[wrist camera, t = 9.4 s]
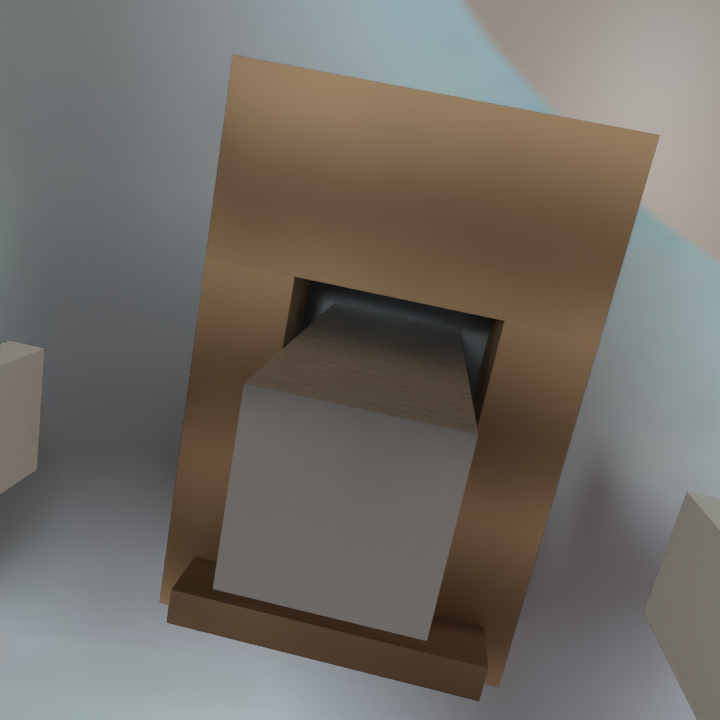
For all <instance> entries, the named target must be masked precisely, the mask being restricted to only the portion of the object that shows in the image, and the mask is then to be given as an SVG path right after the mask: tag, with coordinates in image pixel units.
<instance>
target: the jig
mask: <svg viewBox="0 0 720 720" xmlns="http://www.w3.org/2000/svg"><path fill="white" fill-rule="evenodd" d="M659 136H660V135H656V134H651V133H646V132H640V131H635V130H629V129H624V128H619V127H614V126H608V125H603V124H598V123H592V122H587V121H582V120H576V119H571V118H566V117H561V116H555V115H550V114H545V113H539V112H534V111H529V110H523V109H518V108H513V107H507V106H502V105H497V104H491V103H486V102H481V101H475V100H470V99H465V98H459V97H454V96H449V95H444V94H438V93H433V92H428V91H422V90H417V89H412V88H406V87H401V86H396V85H390V84H385V83H380V82H374V81H369V80H364V79H358V78H353V77H348V76H342V75H337V74H332V73H326V72H321V71H316V70H311V69H305V68H300V67H295V66H289V65H284V64H279V63H273V62H268V61H263V60H257V59H252V58H247V57H241V56H236V55H233V58H232V65H231V73H230V80H229V87H228V95H227V102H226V110H225V117H224V125H223V132H222V140H221V147H220V155H219V162H218V169H217V177H216V184H215V192H214V199H213V207H212V214H211V222H210V229H209V237H208V244H207V251H206V259H205V266H204V274H203V281H202V289H201V296H200V304H199V311H198V319H197V326H196V333H195V341H194V348H193V356H192V363H191V371H190V378H189V386H188V393H187V401H186V408H185V415H184V423H183V430H182V438H181V445H180V453H179V460H178V468H177V475H176V483H175V490H174V497H173V505H172V512H171V520H170V527H169V535H168V542H167V550H166V557H165V565H164V572H163V579H162V587H161V594H160V603H164V604H168V605H169V609H168V616H167V623H170V624H174V625H178V626H182V627H186V628H190V629H194V630H198V631H202V632H206V633H210V634H214V635H218V636H222V637H226V638H230V639H234V640H238V641H242V642H246V643H250V644H254V645H258V646H262V647H266V648H270V649H274V650H278V651H282V652H286V653H290V654H294V655H298V656H302V657H306V658H309V659H313V660H317V661H321V662H325V663H329V664H333V665H337V666H341V667H345V668H349V669H353V670H357V671H361V672H365V673H369V674H373V675H377V676H381V677H385V678H389V679H393V680H397V681H401V682H405V683H409V684H413V685H417V686H421V687H425V688H429V689H433V690H437V691H441V692H445V693H449V694H453V695H456V696H460V697H464V698H468V699H472V700H476V701H479V699H480V696H481V692H482V689H483V685H484V684H488V685H492V686H496V687H498V686H499V683H500V679H501V676H502V673H503V669H504V666H505V662H506V659H507V656H508V652H509V649H510V645H511V642H512V638H513V635H514V632H515V628H516V625H517V621H518V618H519V615H520V611H521V608H522V604H523V601H524V597H525V594H526V591H527V587H528V584H529V580H530V577H531V574H532V570H533V567H534V563H535V560H536V556H537V553H538V550H539V546H540V543H541V539H542V536H543V533H544V529H545V526H546V522H547V519H548V515H549V512H550V509H551V505H552V502H553V498H554V495H555V492H556V488H557V485H558V481H559V478H560V474H561V471H562V468H563V464H564V461H565V457H566V454H567V451H568V447H569V444H570V440H571V437H572V433H573V430H574V427H575V423H576V420H577V416H578V413H579V410H580V406H581V403H582V399H583V396H584V392H585V389H586V386H587V382H588V379H589V375H590V372H591V369H592V365H593V362H594V358H595V355H596V351H597V348H598V345H599V341H600V338H601V334H602V331H603V328H604V324H605V321H606V317H607V314H608V310H609V307H610V304H611V300H612V297H613V293H614V290H615V287H616V283H617V280H618V276H619V273H620V269H621V266H622V263H623V259H624V256H625V252H626V249H627V246H628V242H629V239H630V235H631V232H632V228H633V225H634V222H635V218H636V215H637V211H638V208H639V205H640V201H641V198H642V194H643V191H644V187H645V184H646V181H647V177H648V173H649V170H650V167H651V164H652V160H653V157H654V153H655V149H656V146H657V143H658V140H659ZM311 280H313V281H318V282H323V283H327V284H332V285H337V286H342V287H346V288H351V289H356V290H361V291H365V292H370V293H375V294H380V295H384V296H389V297H394V298H399V299H403V300H408V301H413V302H418V303H422V304H427V305H432V306H437V307H441V308H446V309H451V310H456V311H460V312H465V313H470V314H475V315H479V316H484V317H489V318H493V320H492V324H491V328H490V332H489V336H488V340H487V344H486V348H485V352H484V356H483V360H482V364H481V368H480V372H479V376H478V380H477V384H476V388H475V392H474V396H473V400H472V402H473V407H474V413H475V418H476V424H477V429H478V439H477V443H476V447H475V451H474V455H473V459H472V463H471V467H470V471H469V475H468V479H467V483H466V487H465V491H464V495H463V499H462V503H461V507H460V511H459V515H458V519H457V523H456V527H455V531H454V535H453V539H452V543H451V547H450V551H449V555H448V559H447V563H446V567H445V571H444V575H443V579H442V583H441V587H440V591H439V595H438V599H437V603H436V607H435V611H434V615H433V619H432V623H431V627H430V631H429V635H428V639H427V641H425V640H421V639H417V638H412V637H408V636H404V635H400V634H396V633H392V632H388V631H384V630H380V629H375V628H371V627H367V626H363V625H359V624H355V623H351V622H347V621H343V620H338V619H334V618H330V617H326V616H322V615H318V614H314V613H310V612H305V611H301V610H297V609H293V608H289V607H285V606H281V605H277V604H273V603H268V602H264V601H260V600H256V599H252V598H248V597H244V596H240V595H236V594H231V593H227V592H223V591H219V590H215V589H213V584H214V577H215V571H216V564H217V558H218V551H219V544H220V538H221V531H222V525H223V518H224V511H225V505H226V498H227V492H228V485H229V478H230V472H231V465H232V459H233V452H234V446H235V439H236V432H237V426H238V419H239V413H240V406H241V399H242V393H243V386H244V383H245V382H246V381H247V380H248V379H249V378H250V377H252V376H253V375H254V374H255V373H256V372H257V371H258V370H259V369H261V368H262V367H263V366H264V365H265V364H266V363H267V362H268V361H270V360H271V359H272V358H273V357H274V356H275V355H276V354H277V353H279V352H280V351H281V350H282V349H283V348H284V347H285V346H286V345H288V344H289V343H290V342H291V341H292V340H293V339H294V338H295V337H297V336H298V335H299V334H300V333H301V332H302V329H303V323H304V317H305V312H306V306H307V300H308V294H309V289H310V283H311Z"/></svg>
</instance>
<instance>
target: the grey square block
mask: <svg viewBox="0 0 720 720" xmlns="http://www.w3.org/2000/svg"><path fill="white" fill-rule="evenodd" d="M477 439H478V429H477V424H476V418H475V413H474V407H473V402H472V396H471V391H470V385H469V380H468V374H467V369H466V363H465V358H464V352H463V346H462V341H461V335H460V330H459V328H457V327H452V326H447V325H442V324H437V323H432V322H428V321H423V320H418V319H413V318H408V317H404V316H399V315H394V314H389V313H384V312H380V311H375V310H370V309H365V308H360V307H356V306H351V305H346V304H341V303H336V302H335V303H334V304H333V305H331V306H330V307H329V308H328V309H327V310H326V311H325V312H324V313H322V314H321V315H320V316H319V317H318V318H317V319H316V320H315V321H313V322H312V323H311V324H310V325H309V326H308V327H307V328H306V329H304V330H303V331H302V332H301V333H300V334H299V335H298V336H297V337H295V338H294V339H293V340H292V341H291V342H290V343H289V344H288V345H286V346H285V347H284V348H283V349H282V350H281V351H280V352H279V353H277V354H276V355H275V356H274V357H273V358H272V359H271V360H270V361H268V362H267V363H266V364H265V365H264V366H263V367H262V368H261V369H259V370H258V371H257V372H256V373H255V374H254V375H253V376H252V377H250V378H249V379H248V380H247V381H246V382H245V383H244V386H243V393H242V399H241V406H240V413H239V419H238V426H237V432H236V439H235V446H234V452H233V459H232V465H231V472H230V478H229V485H228V492H227V498H226V505H225V511H224V518H223V525H222V531H221V538H220V544H219V551H218V558H217V564H216V571H215V577H214V584H213V589H215V590H219V591H223V592H227V593H231V594H236V595H240V596H244V597H248V598H252V599H256V600H260V601H264V602H268V603H273V604H277V605H281V606H285V607H289V608H293V609H297V610H301V611H305V612H310V613H314V614H318V615H322V616H326V617H330V618H334V619H338V620H343V621H347V622H351V623H355V624H359V625H363V626H367V627H371V628H375V629H380V630H384V631H388V632H392V633H396V634H400V635H404V636H408V637H412V638H417V639H421V640H425V641H427V639H428V635H429V631H430V627H431V623H432V619H433V615H434V611H435V607H436V603H437V599H438V595H439V591H440V587H441V583H442V579H443V575H444V571H445V567H446V563H447V559H448V555H449V551H450V547H451V543H452V539H453V535H454V531H455V527H456V523H457V519H458V515H459V511H460V507H461V503H462V499H463V495H464V491H465V487H466V483H467V479H468V475H469V471H470V467H471V463H472V459H473V455H474V451H475V447H476V443H477Z"/></svg>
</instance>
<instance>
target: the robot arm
mask: <svg viewBox="0 0 720 720" xmlns="http://www.w3.org/2000/svg"><path fill="white" fill-rule="evenodd" d="M44 351H45V348H40V347H36V346H31V345H27V344H22V343H18V342H13V341H7V342H4V343H1V344H0V494H2V493H3V492H5V491H6V490H8V489H9V488H10V487H12V486H13V485H15V484H16V483H18V482H19V481H21V480H22V479H24V478H25V477H27V476H28V475H30V474H31V473H32V472H34V471H35V470H37V460H38V444H39V429H40V413H41V398H42V382H43V367H44ZM644 614H645V616H646V618H647V620H648V622H649V624H650V626H651V628H652V630H653V632H654V634H655V636H656V638H657V640H658V642H659V644H660V646H661V648H662V650H663V652H664V654H665V656H666V658H667V660H668V662H669V664H670V666H671V668H672V670H673V672H674V674H675V676H676V678H677V680H678V682H679V684H680V686H681V688H682V690H683V692H684V694H685V696H686V698H687V700H688V702H689V704H690V706H691V708H692V710H693V712H694V714H695V716H696V718H697V720H720V499H718V498H714V497H709V496H705V495H700V494H696V493H691V492H687V493H686V496H685V499H684V501H683V504H682V507H681V510H680V513H679V515H678V518H677V521H676V524H675V527H674V529H673V532H672V535H671V538H670V540H669V543H668V546H667V549H666V552H665V554H664V557H663V560H662V563H661V566H660V568H659V571H658V574H657V577H656V580H655V582H654V585H653V588H652V591H651V593H650V596H649V599H648V602H647V605H646V607H645V610H644Z"/></svg>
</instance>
